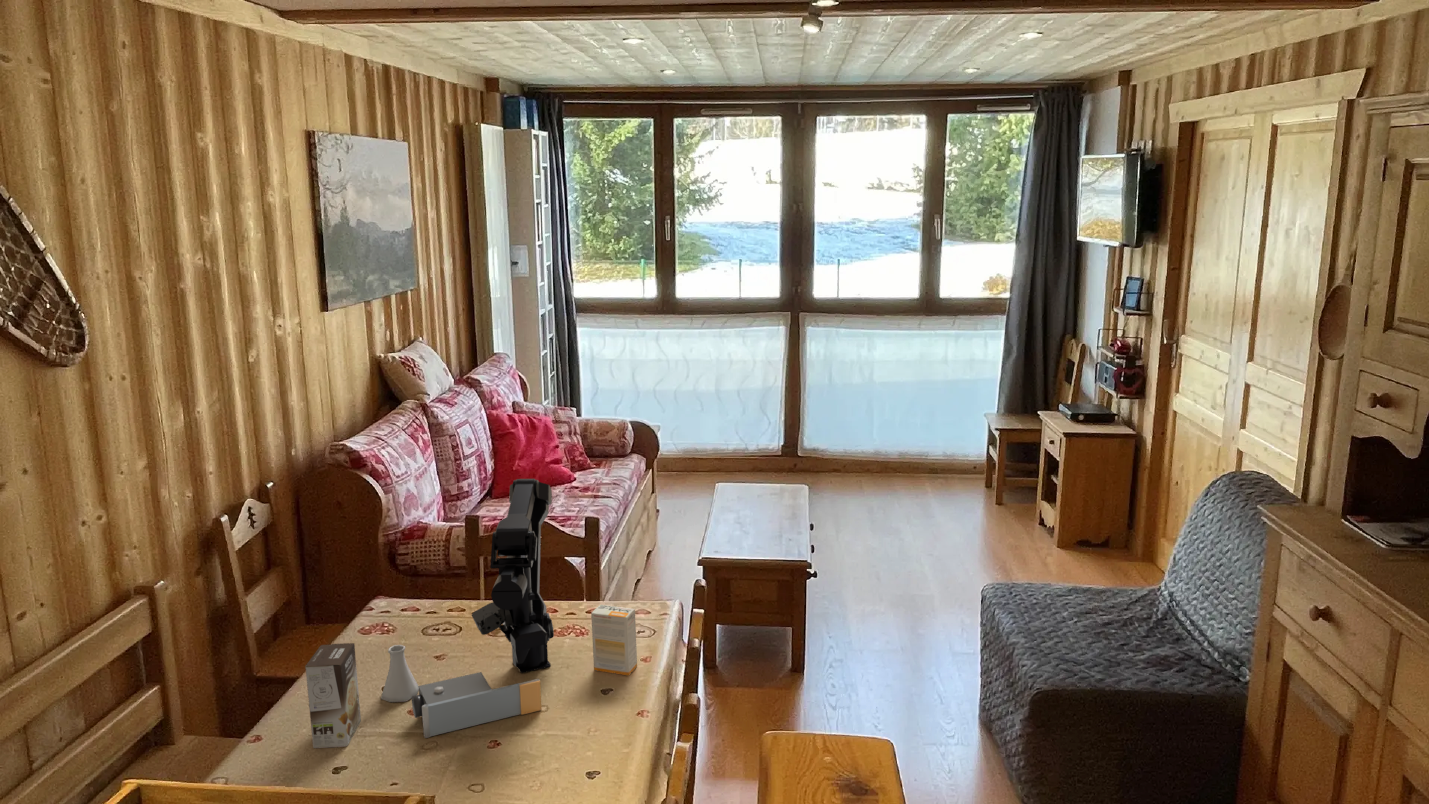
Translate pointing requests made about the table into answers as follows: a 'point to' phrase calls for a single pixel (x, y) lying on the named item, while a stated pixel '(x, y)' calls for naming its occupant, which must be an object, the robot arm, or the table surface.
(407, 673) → the flask
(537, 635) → the robot arm
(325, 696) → the coffee box
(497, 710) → the side door
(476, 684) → the camera housing
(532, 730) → the table surface
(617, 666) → the supplement box
